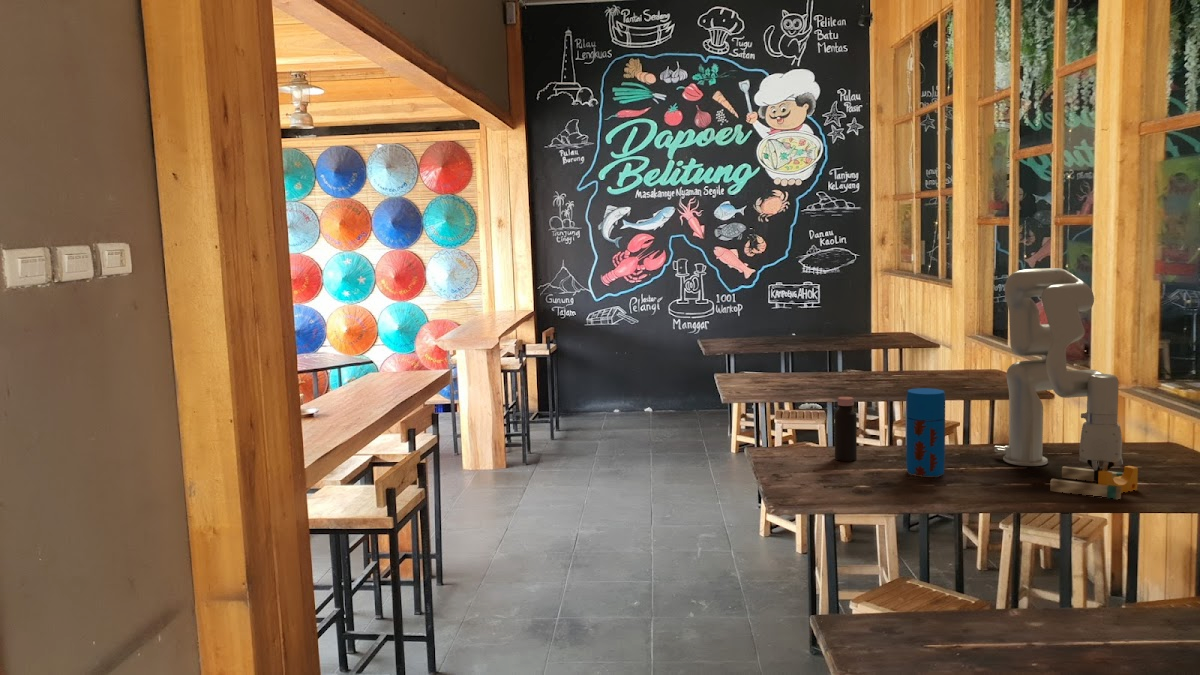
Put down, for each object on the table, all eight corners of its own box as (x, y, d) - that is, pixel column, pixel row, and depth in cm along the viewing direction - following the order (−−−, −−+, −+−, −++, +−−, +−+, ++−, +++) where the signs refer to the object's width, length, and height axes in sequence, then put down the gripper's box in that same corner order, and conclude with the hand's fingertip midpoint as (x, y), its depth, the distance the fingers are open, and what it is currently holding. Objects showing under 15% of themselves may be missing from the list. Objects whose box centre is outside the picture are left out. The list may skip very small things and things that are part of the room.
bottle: (839, 455, 308) (839, 395, 306) (859, 458, 304) (859, 397, 302) (831, 460, 303) (831, 398, 300) (852, 462, 299) (851, 400, 296)
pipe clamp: (1122, 486, 263) (1123, 464, 262) (1137, 490, 259) (1137, 467, 258) (1092, 492, 258) (1092, 469, 258) (1106, 496, 254) (1106, 473, 254)
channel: (1050, 491, 261) (1050, 480, 260) (1063, 476, 275) (1063, 465, 275) (1119, 499, 251) (1120, 488, 250) (1129, 483, 265) (1129, 473, 265)
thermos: (917, 466, 291) (917, 387, 288) (950, 472, 283) (951, 390, 281) (900, 474, 283) (900, 392, 281) (934, 479, 276) (934, 395, 273)
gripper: (1069, 419, 261) (1067, 483, 263) (1130, 424, 252) (1128, 491, 254) (1074, 414, 267) (1073, 477, 269) (1134, 419, 258) (1132, 484, 260)
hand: (1100, 483), depth 261 cm, fingers closed
